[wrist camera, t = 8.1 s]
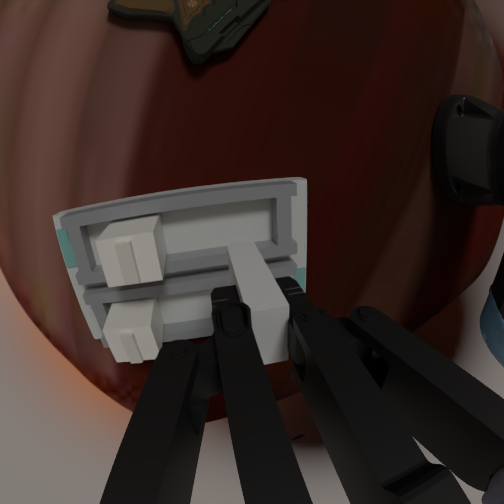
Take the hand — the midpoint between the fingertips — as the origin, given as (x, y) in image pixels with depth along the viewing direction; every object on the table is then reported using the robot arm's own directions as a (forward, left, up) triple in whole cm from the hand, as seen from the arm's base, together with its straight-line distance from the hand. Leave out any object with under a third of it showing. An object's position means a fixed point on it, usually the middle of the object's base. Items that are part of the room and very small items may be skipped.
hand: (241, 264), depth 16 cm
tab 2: (+9, +7, -8) cm, 13 cm away
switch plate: (+4, +3, -9) cm, 10 cm away
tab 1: (+7, 0, -8) cm, 10 cm away
